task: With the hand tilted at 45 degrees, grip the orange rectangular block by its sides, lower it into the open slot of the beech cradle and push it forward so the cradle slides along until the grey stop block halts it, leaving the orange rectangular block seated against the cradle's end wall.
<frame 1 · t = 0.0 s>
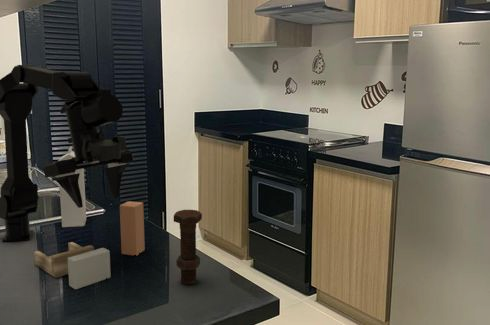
hand: (99, 202, 101), 15 cm above the countertop, tool pointing down, fingers open, 9 cm apart
cradle: (64, 255, 106), point 2 cm above the countertop, slide at 0.0 cm
stop block: (90, 281, 99), on the countertop
bolt: (188, 282, 99), on the countertop
orange rectangular block: (133, 251, 115), on the countertop
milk: (74, 224, 136), on the countertop
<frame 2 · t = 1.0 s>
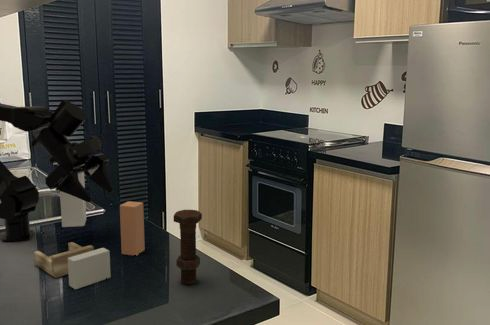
hand: (101, 196, 115), 13 cm above the countertop, tool tilted 45°, fingers open, 9 cm apart
nothing on the countertop moved.
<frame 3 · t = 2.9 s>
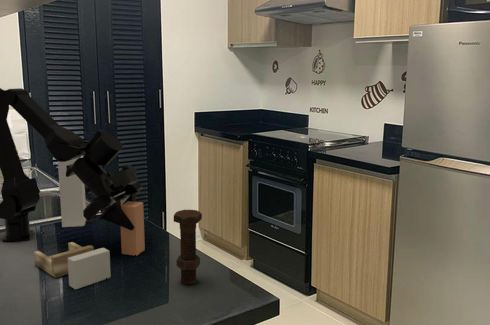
hand: (137, 226, 113), 7 cm above the countertop, tool tilted 45°, fingers closed on orange rectangular block, 4 cm apart
orange rectangular block: (133, 251, 115), on the countertop, touching gripper
everything else where it was.
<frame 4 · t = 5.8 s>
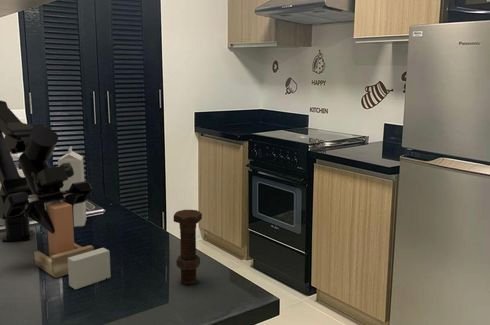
hand: (63, 230, 104), 9 cm above the countertop, tool tilted 45°, fingers closed on orange rectangular block, 4 cm apart
orange rectangular block: (62, 256, 107), point 2 cm above the countertop, touching gripper
everything else where it was.
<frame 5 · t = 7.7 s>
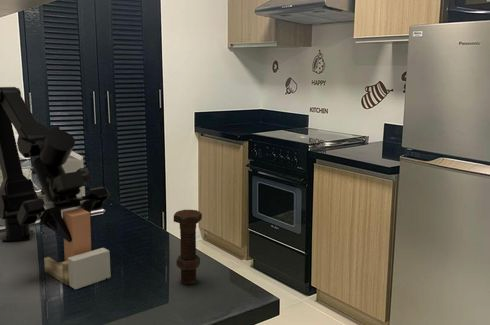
hand: (80, 238, 99), 9 cm above the countertop, tool tilted 45°, fingers closed on orange rectangular block, 4 cm apart
cradle: (75, 261, 103), point 2 cm above the countertop, slide at 5.0 cm, touching orange rectangular block, stop block
orange rectangular block: (78, 265, 102), point 2 cm above the countertop, touching cradle, gripper
everything else where it was.
when the fingers open (8 cm above the countertop, at t = 8.9 s): orange rectangular block stays where it is, resting on cradle.
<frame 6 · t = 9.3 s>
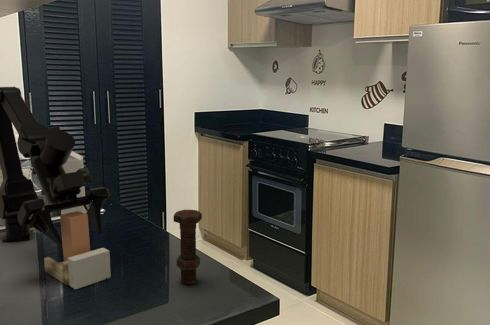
hand: (80, 238, 99), 9 cm above the countertop, tool tilted 45°, fingers open, 9 cm apart
cradle: (75, 261, 103), point 2 cm above the countertop, slide at 5.0 cm, touching orange rectangular block
orange rectangular block: (78, 268, 102), point 1 cm above the countertop, touching cradle
everything else where it was.
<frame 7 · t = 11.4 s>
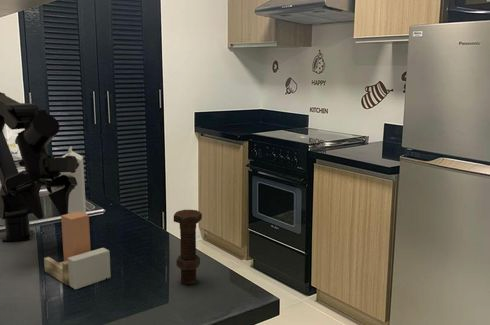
hand: (53, 218, 107), 10 cm above the countertop, tool tilted 30°, fingers open, 9 cm apart
nothing on the countertop moved.
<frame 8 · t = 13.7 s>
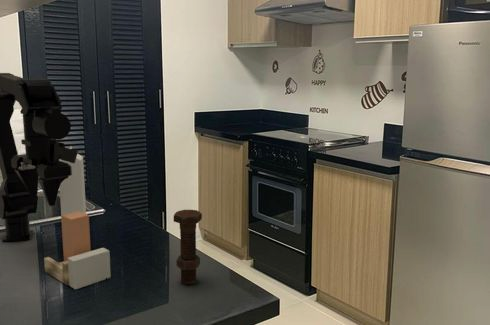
hand: (43, 201, 110), 13 cm above the countertop, tool pointing down, fingers open, 9 cm apart
nothing on the countertop moved.
at the end: cradle slide at 5.0 cm; orange rectangular block inside the target area on the cradle (2.7 cm from its centre), point 1.2 cm above the cradle's base; orange rectangular block tilted 0° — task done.
